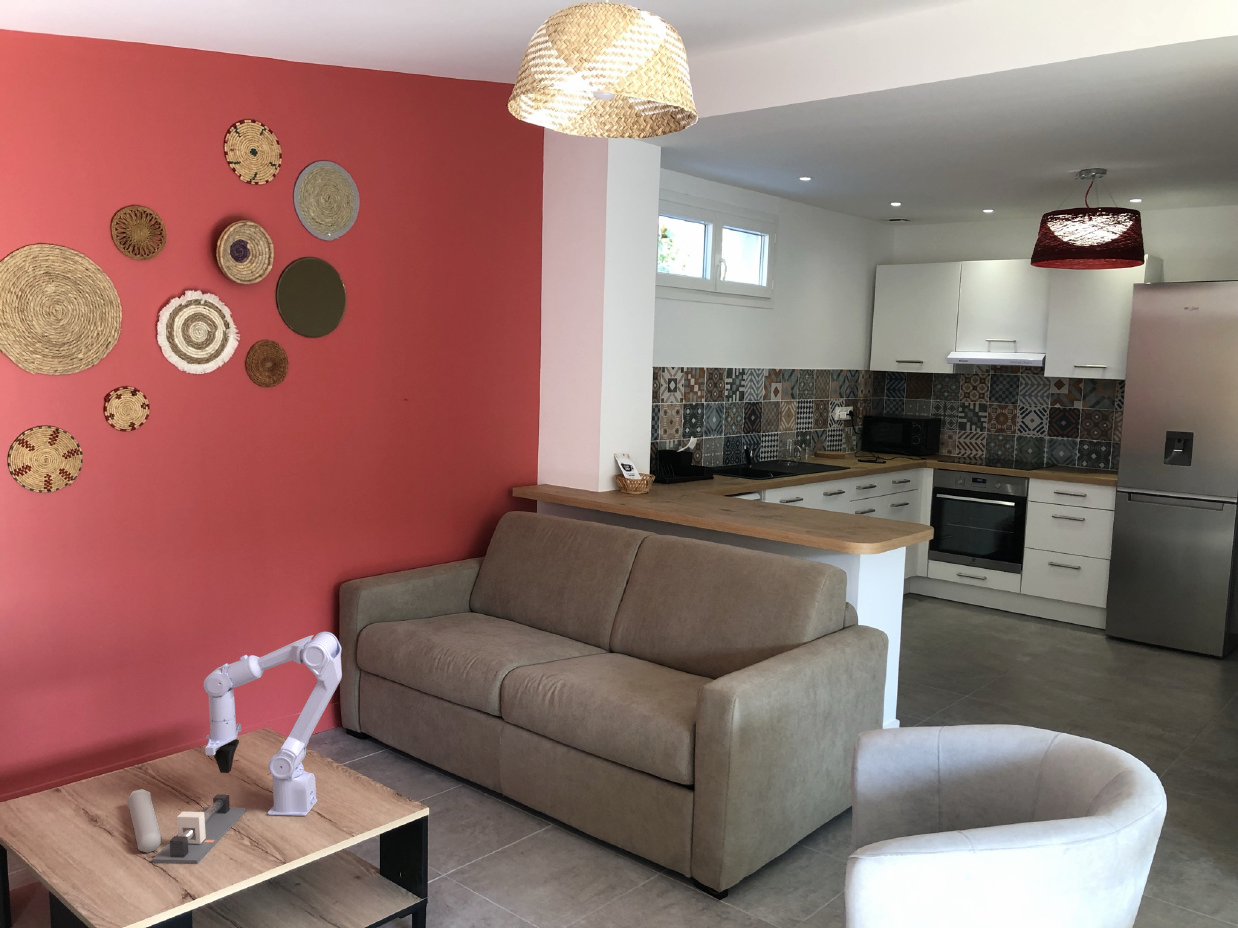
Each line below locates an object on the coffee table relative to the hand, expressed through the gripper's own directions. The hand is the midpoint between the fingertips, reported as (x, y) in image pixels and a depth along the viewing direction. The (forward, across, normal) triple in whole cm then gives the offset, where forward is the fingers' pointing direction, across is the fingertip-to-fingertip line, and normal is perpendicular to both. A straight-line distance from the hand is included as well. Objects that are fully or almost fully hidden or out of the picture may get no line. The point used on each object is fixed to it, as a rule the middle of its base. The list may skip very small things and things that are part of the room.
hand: (225, 771), depth 234 cm
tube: (+10, +11, -14) cm, 21 cm away
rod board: (+9, +13, 0) cm, 16 cm away
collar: (+8, +17, 0) cm, 19 cm away
